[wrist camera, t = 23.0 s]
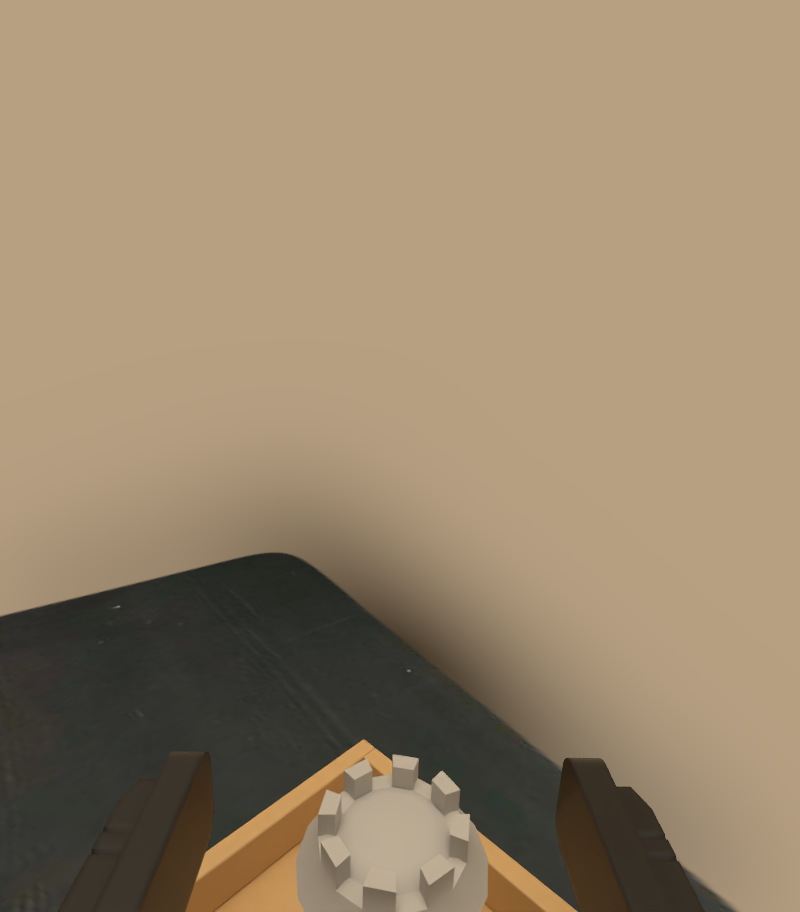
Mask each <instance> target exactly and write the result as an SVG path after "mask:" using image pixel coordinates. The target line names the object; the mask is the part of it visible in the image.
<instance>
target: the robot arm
mask: <svg viewBox="0 0 800 912" xmlns="http://www.w3.org/2000/svg"><path fill="white" fill-rule="evenodd" d="M213 814H214V805H213V791H212V777H211V763H210V755H209V753H208V752H179V751H173V752H171V753H170V754H169V755H168V757H167V759H166V761H165V763H164V765H163V767H162V769H161V771H160V773H159V775H158V777H157V779H156V780H139V781H138V782H137V783H136V784H135V785H134V786H133V787H132V788H131V789H130V790H129V791H128V792H127V793H126V794H125V795H124V796H123V797H122V798H121V799H120V800H119V801H118V802H117V804H116V806H115V808H114V809H113V811H112V813H111V815H110V817H109V819H108V820H107V822H106V824H105V826H104V829H103V832H102V833H100V835H99V837H98V839H97V841H96V842H95V844H94V846H93V848H92V852H91V854H90V855H88V857H87V859H86V861H85V862H84V864H83V866H82V868H81V870H80V872H79V873H78V875H77V877H76V879H75V881H74V883H73V884H72V886H71V888H70V890H69V892H68V894H67V895H66V897H65V899H64V901H63V903H62V905H61V906H60V908H59V910H58V912H185V911H186V908H187V906H188V903H189V900H190V897H191V894H192V891H193V888H194V885H195V882H196V879H197V876H198V873H199V870H200V867H201V864H202V861H203V858H204V855H205V852H206V849H207V846H208V843H209V839H210V835H211V830H212V824H213ZM556 827H557V835H558V841H559V845H560V849H561V852H562V856H563V859H564V862H565V865H566V868H567V872H568V875H569V878H570V881H571V884H572V888H573V891H574V894H575V897H576V900H577V904H578V907H579V910H580V912H705V911H704V909H703V907H702V905H701V903H700V901H699V899H698V897H697V895H696V893H695V891H694V890H693V888H692V886H691V884H690V882H689V880H688V878H687V876H686V874H685V872H684V870H683V868H682V866H681V864H680V863H679V862H677V860H676V855H675V853H674V851H673V849H672V847H671V845H670V843H669V841H668V840H666V838H665V834H664V832H663V830H662V828H661V826H660V824H659V822H658V820H657V819H656V816H655V814H654V812H653V811H652V809H651V808H650V807H649V806H648V805H647V803H646V802H645V801H644V800H643V799H642V798H641V797H640V796H639V795H638V794H637V793H636V792H635V791H634V790H633V789H632V788H631V787H616V785H615V783H614V781H613V779H612V777H611V775H610V773H609V770H608V768H607V766H606V764H605V762H604V761H603V760H602V759H600V758H566V759H565V760H564V762H563V768H562V775H561V783H560V790H559V797H558V804H557V812H556Z"/></svg>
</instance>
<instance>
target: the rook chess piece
mask: <svg viewBox="0 0 800 912" xmlns="http://www.w3.org/2000/svg"><path fill="white" fill-rule="evenodd" d="M418 762H419V759H418V758H412V757H406V756H399V755H393V762H392V774H390V775H384V776H378V777H373V770H372V768H371V766H370V764H369V762H368V760H367V759H365V760H363V761H361V762H359V763H357V764H355V765H353V766H351V767H350V768H348V769H346V770H344V791H343V792H341V793H340V794H337V793H334V792H332V791H329V790H326V793H325V796H324V799H323V801H322V804H321V807H320V810H319V813H318V815H317V816H316V817H315V818H314V819H313V821H312V822H311V823H310V824H309V825H308V827H307V830H306V833H305V835H304V838H303V841H302V844H301V846H300V849H299V852H298V855H297V858H296V875H297V895H298V900H299V902H300V904H301V906H302V908H303V910H304V912H481V910H482V908H483V906H484V903H485V901H486V899H487V897H488V858H487V855H486V853H485V850H484V847H483V845H482V842H481V840H480V837H479V835H478V832H477V830H476V827H475V825H474V824H473V823H472V822H471V821H470V814H464V813H463V812H462V811H461V810H460V809H459V797H460V789H459V788H458V787H457V786H456V785H455V784H454V783H453V782H452V781H451V779H450V778H449V777H448V776H447V775H446V774H445V773H444V772H443V771H441V772H440V773H439V774H438V775H437V776H436V777H434V778H433V779H432V786H431V785H429V784H427V783H425V782H424V781H422V780H420V779H418Z"/></svg>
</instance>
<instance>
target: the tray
mask: <svg viewBox="0 0 800 912" xmlns="http://www.w3.org/2000/svg"><path fill="white" fill-rule="evenodd" d="M365 759H367V760H368V762H369V764H370V766H371V768H372V770H373V777H378V776H384V775H390V774H392V761H391V760H390V759H388V758H387V757H386V756H385V755H383V754H382V753H381V752H380V751H378V750H377V749H375V748H374V747H373V746H372V745H371V744H369V743H368V742H367V741H366V740H362V741H361V742H359V743H358V744H356V745H355V746H354V747H352V748H351V749H349V750H348V751H347V752H345V753H344V754H342V755H341V756H340V757H338V758H337V759H335V760H334V761H333V762H331V763H330V764H328V765H327V766H326V767H324V768H323V769H321V770H320V771H319V772H317V773H316V774H314V775H313V776H312V777H310V778H309V779H307V780H306V781H305V782H303V783H302V784H300V785H299V786H298V787H296V788H295V789H293V790H292V791H291V792H289V793H288V794H286V795H285V796H284V797H282V798H281V799H279V800H278V801H277V802H275V803H274V804H272V805H271V806H270V807H268V808H267V809H265V810H264V811H263V812H261V813H260V814H258V815H257V816H256V817H254V818H253V819H251V820H250V821H249V822H247V823H246V824H245V825H243V826H242V827H240V828H239V829H238V830H236V831H235V832H233V833H232V834H231V835H229V836H228V837H226V838H225V839H224V840H222V841H221V842H219V843H218V844H217V845H215V846H214V847H212V848H211V849H210V850H208V851H207V852H205V855H204V858H203V861H202V864H201V867H200V870H199V873H198V876H197V879H196V882H195V885H194V888H193V891H192V894H191V897H190V900H189V903H188V906H187V908H186V911H185V912H304V910H303V908H302V906H301V904H300V902H299V900H298V895H297V875H296V858H297V855H298V852H299V849H300V846H301V844H302V841H303V838H304V835H305V833H306V830H307V827H308V825H309V824H310V823H311V822H312V821H313V819H314V818H315V817H316V816H317V815H318V813H319V810H320V807H321V804H322V801H323V799H324V796H325V793H326V790H329V791H332V792H334V793H337V794H340V793H341V792H343V791H344V770H346V769H348V768H350V767H351V766H353V765H355V764H357V763H359V762H361V761H363V760H365ZM477 832H478V831H477ZM478 835H479V837H480V840H481V842H482V845H483V847H484V850H485V853H486V855H487V858H488V897H487V899H486V901H485V903H484V906H483V908H482V910H481V912H577V911H576V910H575V909H574V908H572V907H571V906H570V905H569V904H567V903H566V902H565V901H564V900H562V899H561V898H560V897H559V896H557V895H556V894H555V893H554V892H553V891H551V890H550V889H549V888H548V887H546V886H545V885H544V884H543V883H541V882H540V881H539V880H538V879H536V878H535V877H534V876H533V875H532V874H530V873H529V872H528V871H527V870H525V869H524V868H523V867H522V866H520V865H519V864H518V863H517V862H515V861H514V860H513V859H512V858H511V857H509V856H508V855H507V854H506V853H504V852H503V851H502V850H501V849H499V848H498V847H497V846H496V845H494V844H493V843H492V842H491V841H490V840H488V839H487V838H486V837H485V836H483V835H482V834H481V833H480V832H478Z"/></svg>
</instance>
